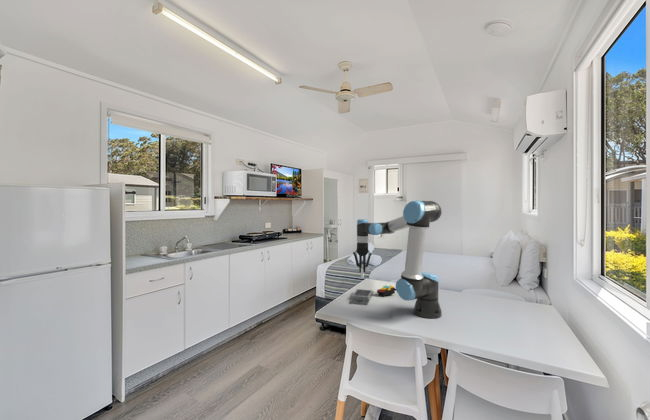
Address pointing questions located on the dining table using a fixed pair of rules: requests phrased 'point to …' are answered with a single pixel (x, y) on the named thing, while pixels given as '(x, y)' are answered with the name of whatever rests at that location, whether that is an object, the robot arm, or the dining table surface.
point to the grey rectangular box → (361, 297)
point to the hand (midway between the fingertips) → (362, 277)
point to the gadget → (386, 290)
